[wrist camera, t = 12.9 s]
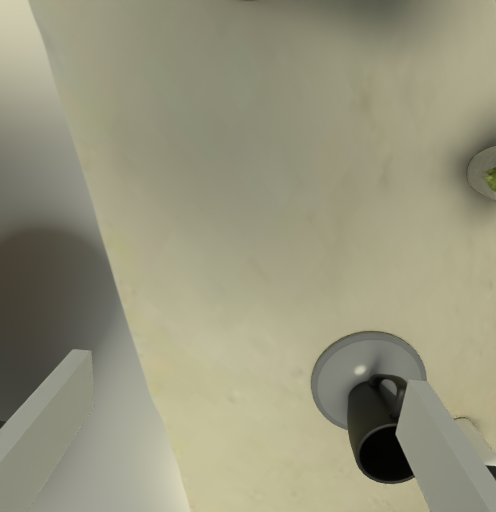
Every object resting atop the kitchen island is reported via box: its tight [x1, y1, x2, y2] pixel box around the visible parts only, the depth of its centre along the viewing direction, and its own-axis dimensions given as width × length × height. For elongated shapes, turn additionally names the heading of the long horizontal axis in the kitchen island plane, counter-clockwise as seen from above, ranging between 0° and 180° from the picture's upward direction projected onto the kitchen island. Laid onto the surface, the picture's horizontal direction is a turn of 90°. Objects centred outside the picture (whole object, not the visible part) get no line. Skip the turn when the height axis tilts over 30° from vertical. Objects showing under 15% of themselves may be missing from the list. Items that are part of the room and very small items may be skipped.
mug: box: [347, 374, 415, 484], centre depth 44 cm, size 8×12×10 cm
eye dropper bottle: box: [454, 418, 496, 466], centre depth 46 cm, size 4×6×12 cm
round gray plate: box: [311, 331, 427, 430], centre depth 49 cm, size 15×15×1 cm
